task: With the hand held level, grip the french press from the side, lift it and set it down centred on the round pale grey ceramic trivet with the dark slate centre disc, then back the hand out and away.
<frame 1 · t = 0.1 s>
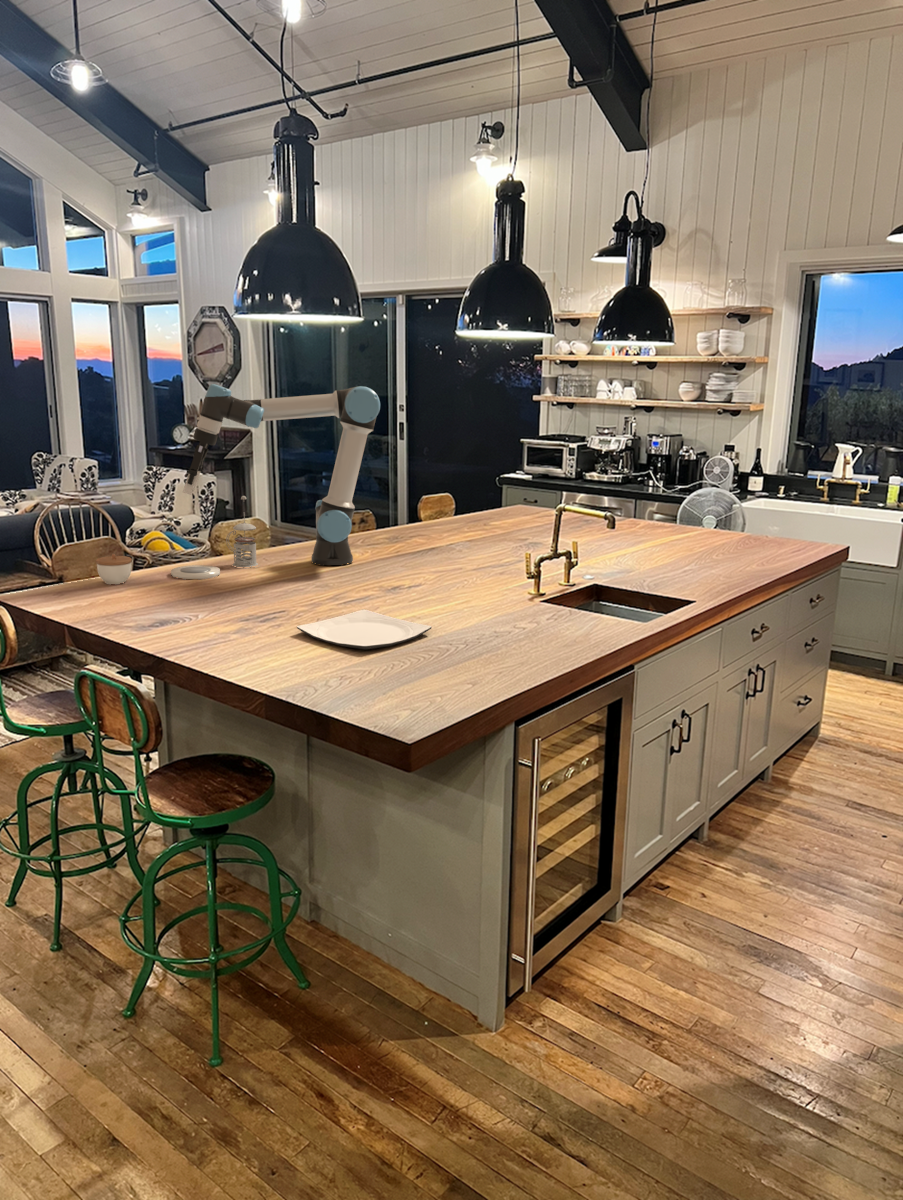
hand: (189, 490, 310), 28 cm above the counter, tool tilted 20°, fingers open, 13 cm apart
lidded jar: (115, 583, 297), on the counter
trivet: (195, 574, 312), on the counter
plate: (364, 636, 247), on the counter
french press: (243, 565, 328), on the counter
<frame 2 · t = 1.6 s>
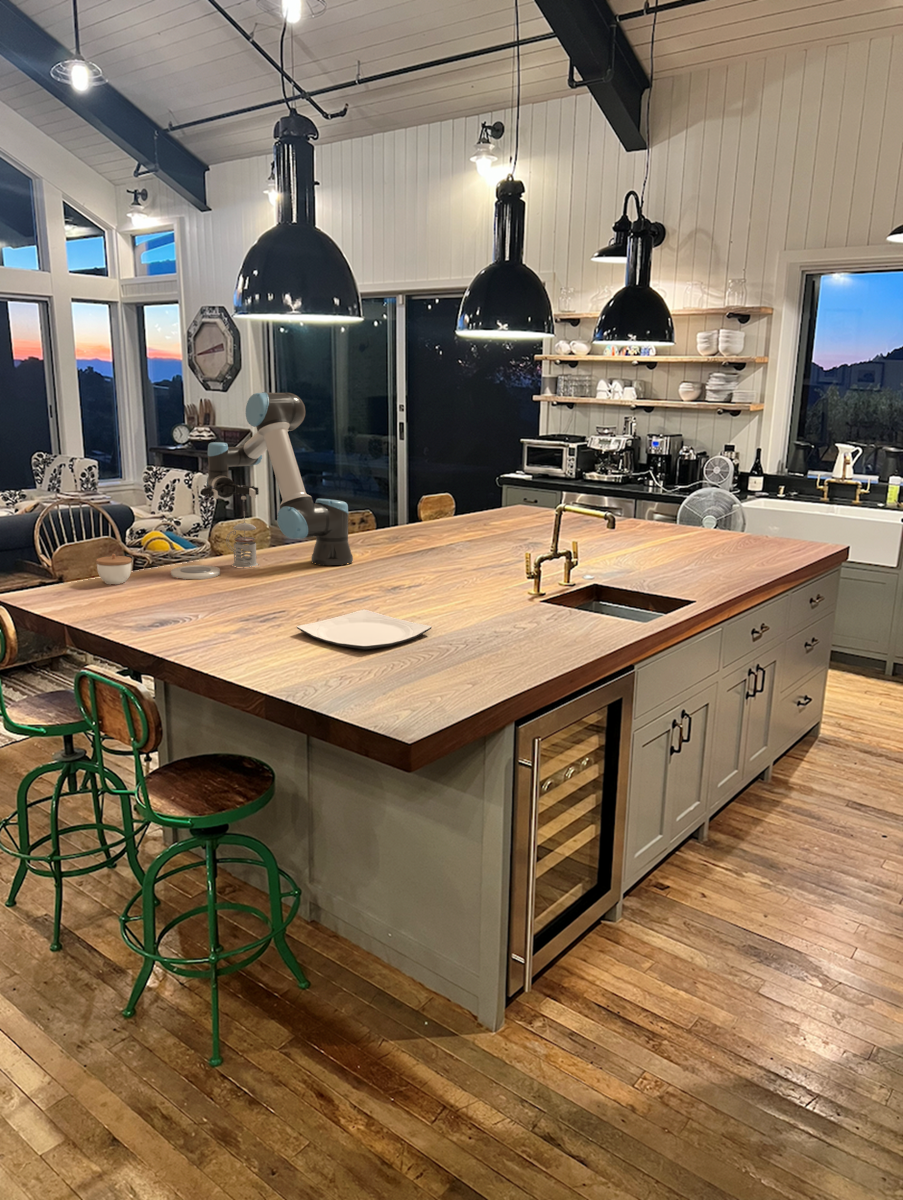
hand: (235, 494, 330), 24 cm above the counter, tool horizontal, fingers open, 13 cm apart
nothing on the counter moved.
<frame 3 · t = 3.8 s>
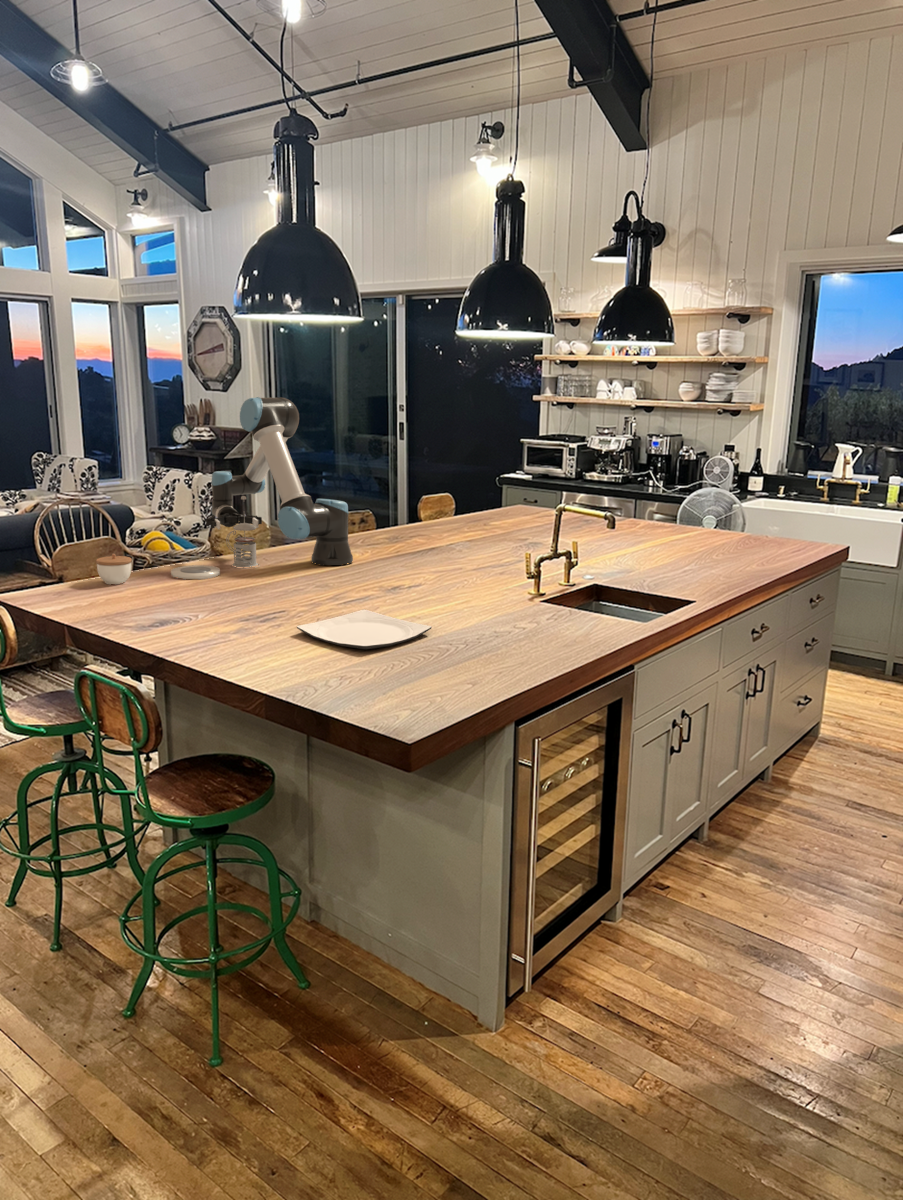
hand: (238, 524, 329), 14 cm above the counter, tool horizontal, fingers open, 13 cm apart
nothing on the counter moved.
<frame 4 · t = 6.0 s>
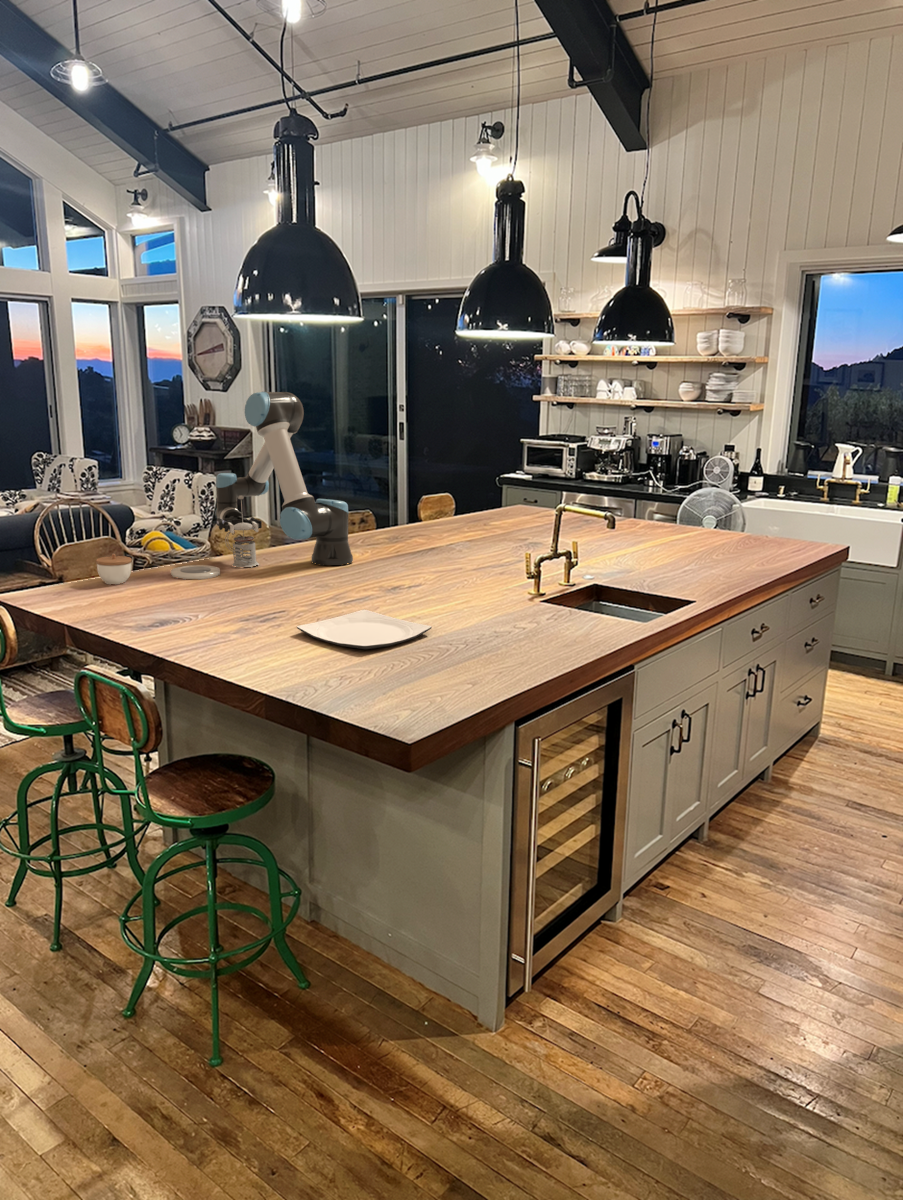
hand: (245, 528, 321), 14 cm above the counter, tool horizontal, fingers closed on french press, 8 cm apart
french press: (243, 565, 328), on the counter, touching gripper
everything else where it was.
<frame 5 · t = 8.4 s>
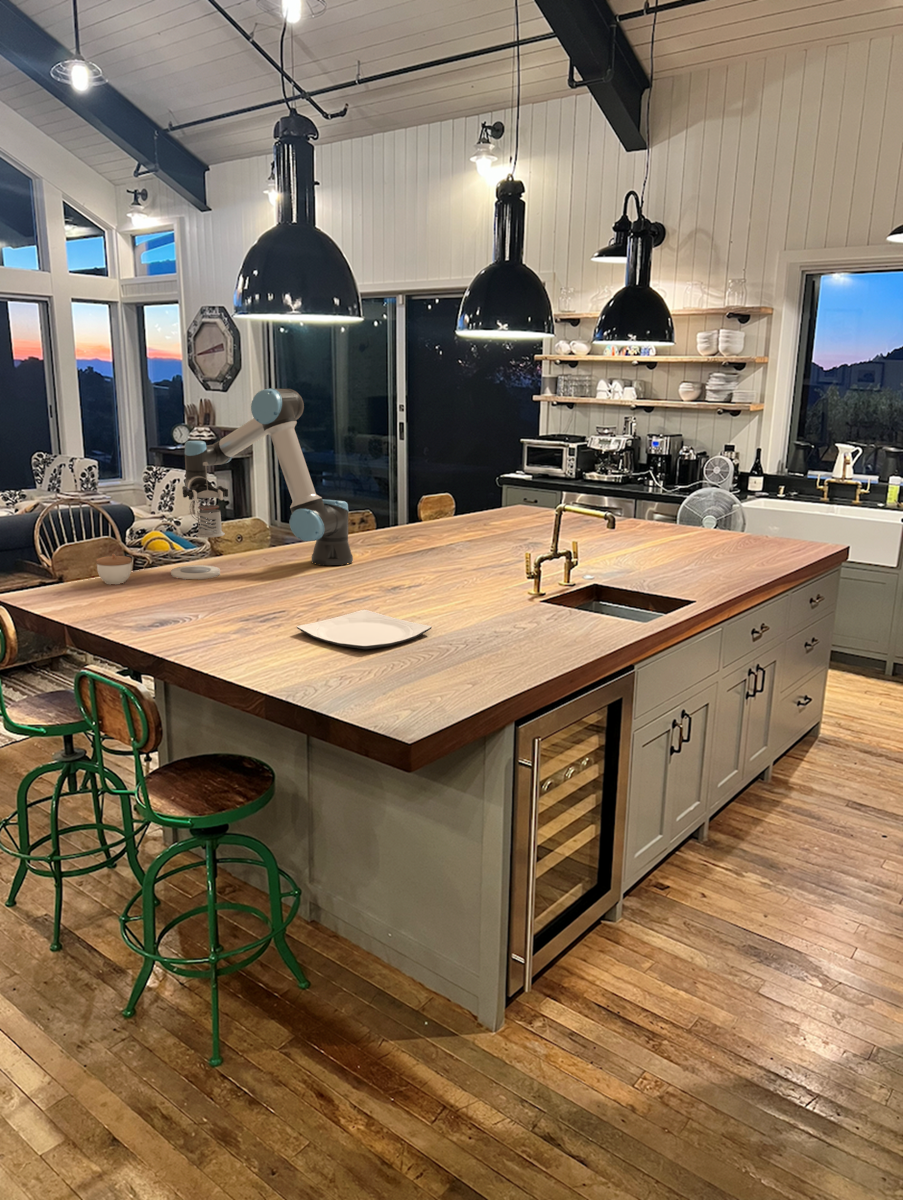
hand: (208, 496, 308), 26 cm above the counter, tool horizontal, fingers closed on french press, 8 cm apart
french press: (208, 535, 316), point 12 cm above the counter, touching gripper
everything else where it was.
when the fingers open (17 cm above the counter, at t = 11.0 s): french press drops 1 cm, resting on trivet.
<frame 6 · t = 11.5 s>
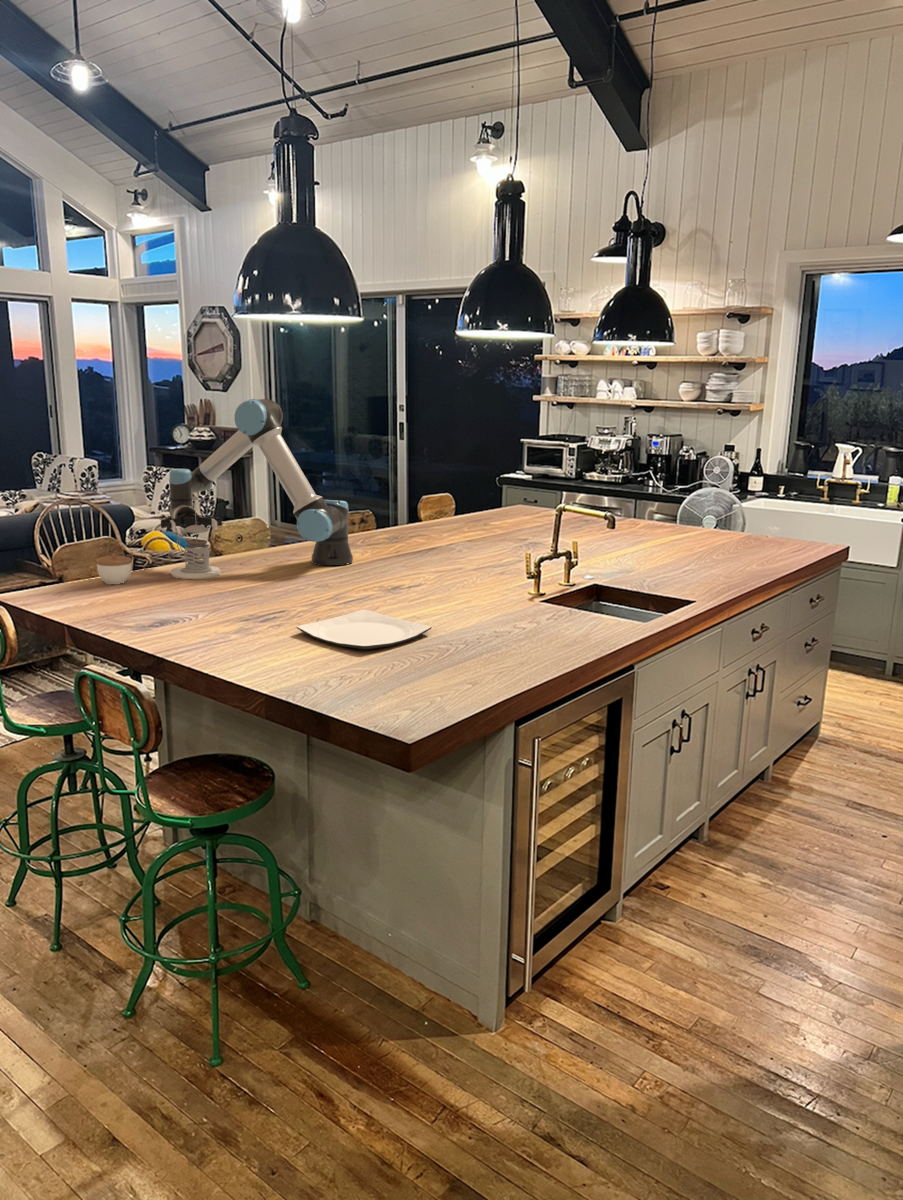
hand: (195, 526, 305), 17 cm above the counter, tool horizontal, fingers open, 13 cm apart
french press: (195, 570, 311), point 2 cm above the counter, touching trivet
everything else where it was.
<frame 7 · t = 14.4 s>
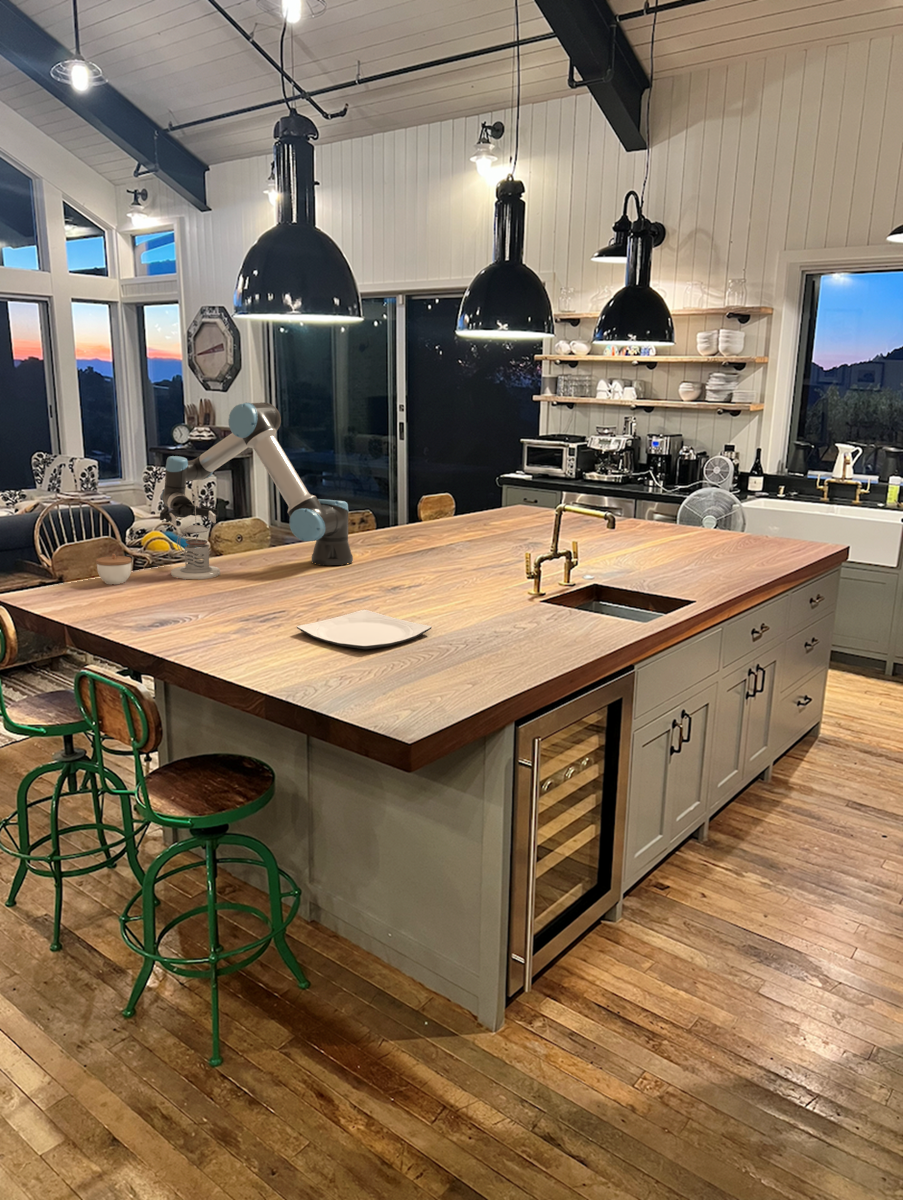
hand: (195, 520, 317), 17 cm above the counter, tool horizontal, fingers open, 13 cm apart
nothing on the counter moved.
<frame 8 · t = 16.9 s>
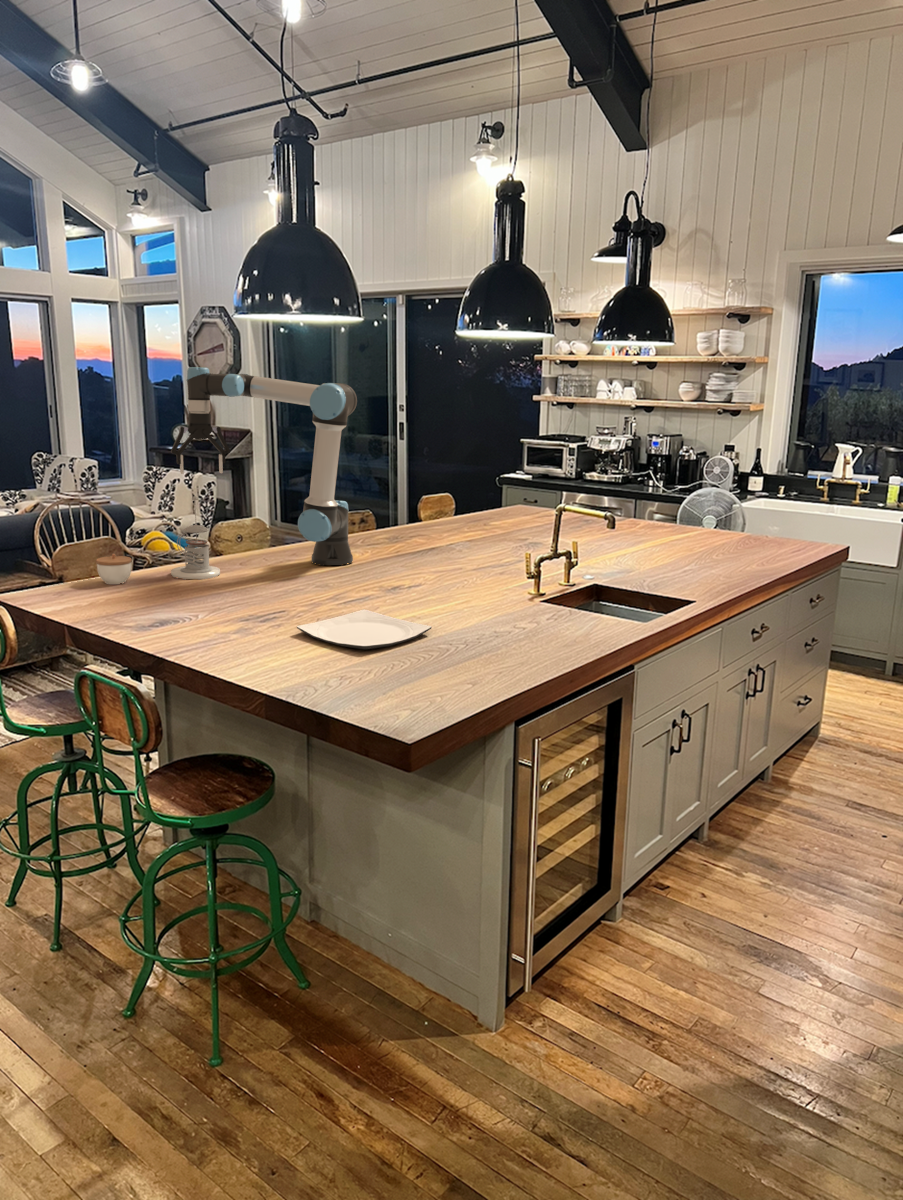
hand: (201, 473, 326), 32 cm above the counter, tool pointing down, fingers open, 13 cm apart
nothing on the counter moved.
at the end: french press 0.2 cm from the trivet (horizontally); french press tilted 0°; french press touching trivet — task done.
